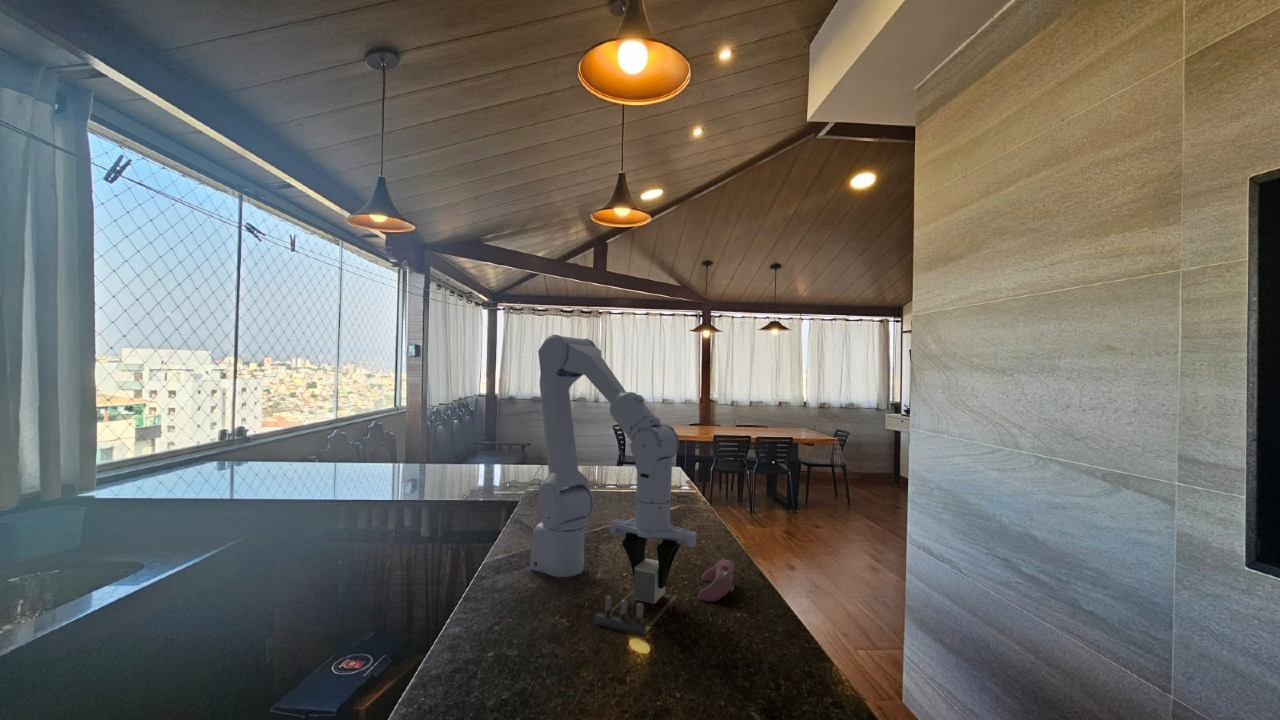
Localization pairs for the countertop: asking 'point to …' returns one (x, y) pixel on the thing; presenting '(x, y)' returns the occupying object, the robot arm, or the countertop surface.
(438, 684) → the countertop surface
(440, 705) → the countertop surface
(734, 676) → the countertop surface
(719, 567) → the video game controller
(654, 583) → the plug block
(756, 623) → the countertop surface
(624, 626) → the header
